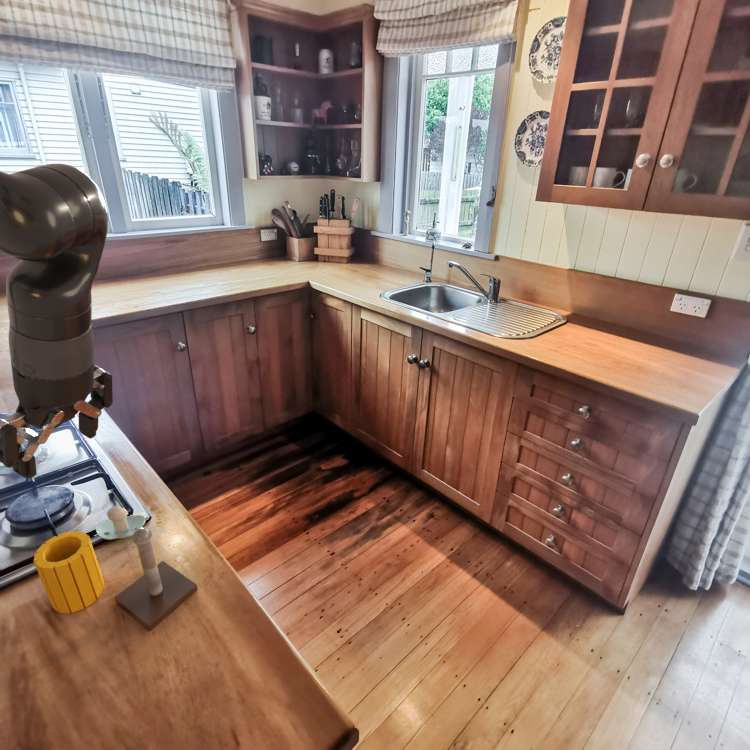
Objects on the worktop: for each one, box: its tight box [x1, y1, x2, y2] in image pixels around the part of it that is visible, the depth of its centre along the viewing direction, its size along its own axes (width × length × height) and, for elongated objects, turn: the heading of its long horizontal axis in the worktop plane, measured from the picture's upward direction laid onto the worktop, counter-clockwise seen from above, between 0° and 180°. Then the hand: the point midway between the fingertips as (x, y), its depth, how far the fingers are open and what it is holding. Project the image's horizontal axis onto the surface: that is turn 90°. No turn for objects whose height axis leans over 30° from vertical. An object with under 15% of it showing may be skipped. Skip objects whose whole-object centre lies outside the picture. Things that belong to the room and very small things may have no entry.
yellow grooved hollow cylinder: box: [33, 530, 105, 614], centre depth 66 cm, size 7×7×9 cm
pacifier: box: [95, 506, 146, 541], centre depth 78 cm, size 7×6×6 cm
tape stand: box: [114, 526, 199, 632], centre depth 65 cm, size 8×8×13 cm
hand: (58, 453), depth 60 cm, fingers open, 8 cm apart
